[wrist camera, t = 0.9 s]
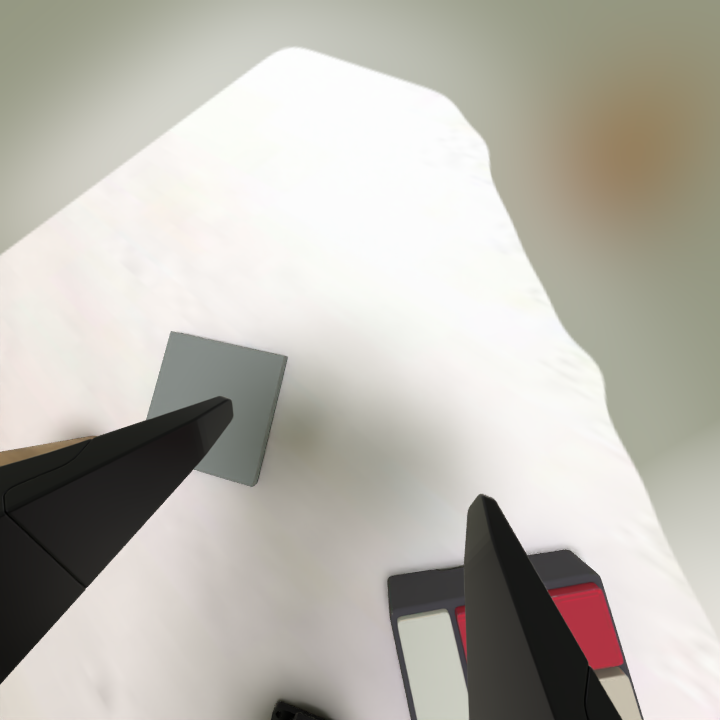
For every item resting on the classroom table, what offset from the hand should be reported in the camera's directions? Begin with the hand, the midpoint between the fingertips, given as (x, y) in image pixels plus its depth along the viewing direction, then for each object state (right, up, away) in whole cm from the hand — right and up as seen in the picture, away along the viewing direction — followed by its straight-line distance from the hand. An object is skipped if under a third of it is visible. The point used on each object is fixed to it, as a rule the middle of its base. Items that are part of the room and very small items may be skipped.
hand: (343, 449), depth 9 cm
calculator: (+11, -19, +12) cm, 25 cm away
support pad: (-13, -1, +16) cm, 21 cm away
